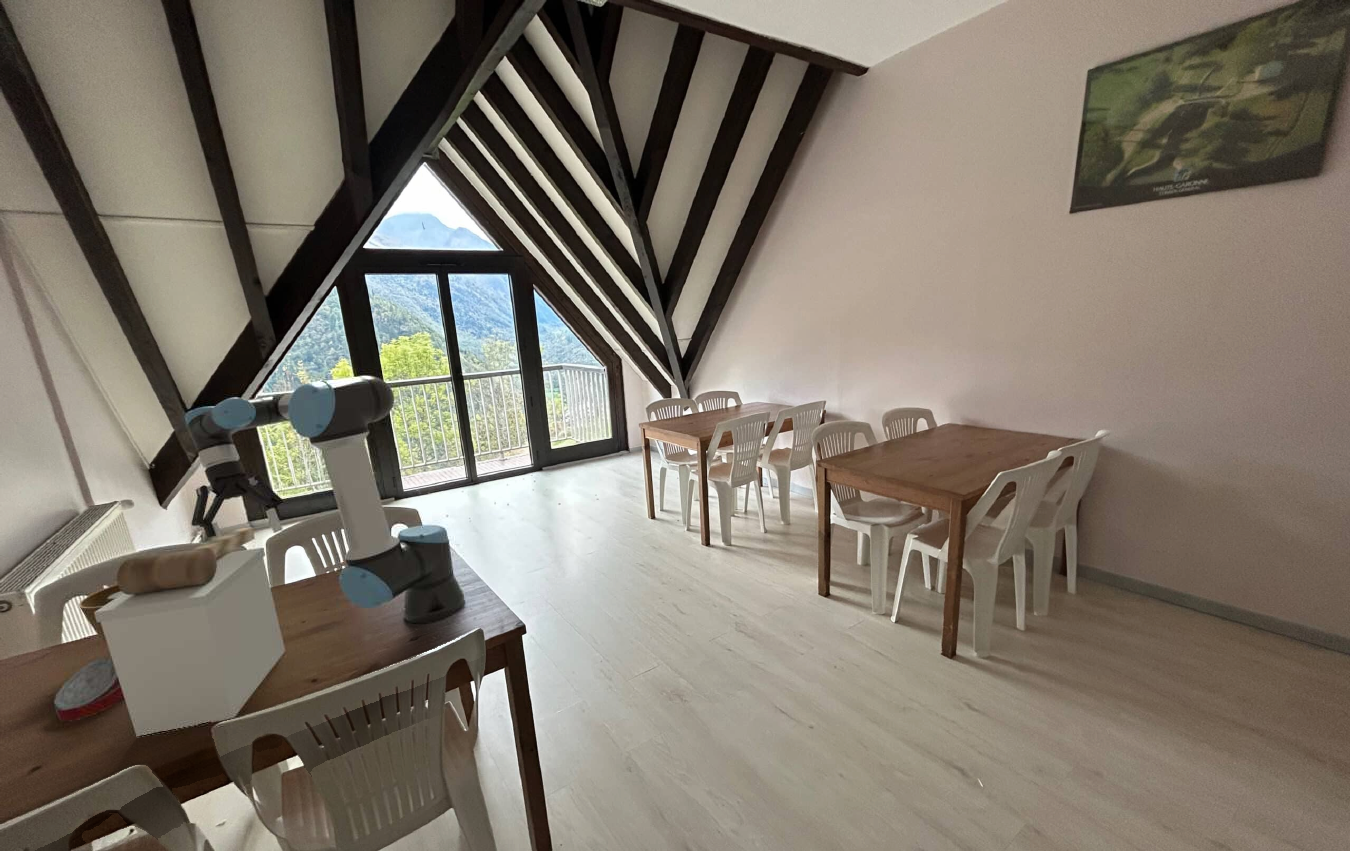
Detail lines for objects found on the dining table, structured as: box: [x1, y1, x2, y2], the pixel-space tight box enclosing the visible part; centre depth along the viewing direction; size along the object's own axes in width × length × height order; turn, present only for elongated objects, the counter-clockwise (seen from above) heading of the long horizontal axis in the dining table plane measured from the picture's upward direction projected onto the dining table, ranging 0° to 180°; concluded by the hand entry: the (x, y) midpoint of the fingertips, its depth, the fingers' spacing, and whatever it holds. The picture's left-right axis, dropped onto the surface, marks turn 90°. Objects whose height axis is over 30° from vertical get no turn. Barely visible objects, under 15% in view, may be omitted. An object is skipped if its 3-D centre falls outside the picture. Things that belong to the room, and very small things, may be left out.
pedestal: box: [94, 547, 286, 737], centre depth 108 cm, size 22×17×27 cm
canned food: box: [53, 656, 124, 722], centre depth 108 cm, size 11×10×10 cm
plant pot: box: [78, 583, 121, 646], centre depth 126 cm, size 15×15×16 cm
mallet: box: [116, 526, 256, 595], centre depth 112 cm, size 30×12×7 cm, turn 15°
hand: (251, 539), depth 134 cm, fingers open, 13 cm apart
